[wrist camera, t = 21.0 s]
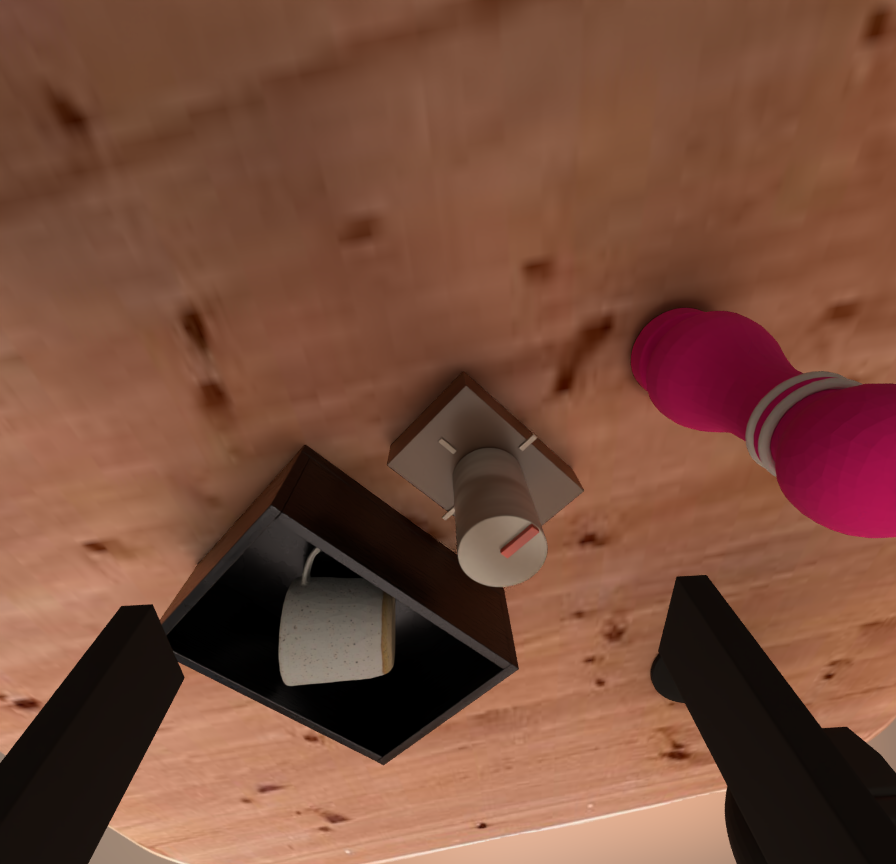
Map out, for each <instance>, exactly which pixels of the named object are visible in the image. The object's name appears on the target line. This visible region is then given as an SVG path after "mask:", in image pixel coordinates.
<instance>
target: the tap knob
mask: <svg viewBox="0 0 896 864" xmlns="http://www.w3.org/2000/svg"><path fill="white" fill-rule="evenodd" d="M453 494H454V509H455V524H456V539H457V554H458V560H459V564H460V566H461V568H462V569H463V571H464V572H465V573H466V574H467V575H468V576H469V577H470V578H471V579H473V580H474V581H476V582H478V583H480V584H483V585H487V586H492V587H507V586H513V585H516V584H519V583H522V582H524V581H526V580H528V579H529V578H531V577H532V576H533V575H535V574H536V573H537V572H538V571H539V569H540V568H541V567H542V565H543V564H544V561H545V559H546V556H547V550H548V548H547V540H546V538H545V535H544V532H543V529H542V526H541V523H540V520H539V517H538V514H537V512H536V509H535V506H534V503H533V500H532V497H531V494H530V491H529V488H528V486H527V483H526V480H525V477H524V474H523V471H522V468H521V466H520V464H519V462H518V461H517V460H516V458H515V457H514V456H512V455H511V454H510V453H508V452H506V451H504V450H501V449H497V448H482V449H478V450H475V451H473V452H471V453H469V454H467V455H466V456H465V457H463V458H462V459H461V460H460V462H459V463H458V464H457V466H456V468H455V470H454V473H453Z"/></svg>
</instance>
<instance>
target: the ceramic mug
mask: <svg viewBox="0 0 896 864" xmlns="http://www.w3.org/2000/svg"><path fill="white" fill-rule="evenodd" d="M320 551H321V550H320V549H318V548H317V547H314V549H313V550H312V551H311V553H310V555H309V556H308V558H307V561H306V563H305V566H304V570H303V574H302V577H297V578H295V579H294V580H293V581H292V583H291V585H290V587H289V589H288V591H287V593H286V597H285V601H284V604H283V609H282V616H281V624H280V631H279V666H280V673H281V676H282V679H283V682H284V683H285V684H286V685H287V686H295V685H306V684H317V683H329V682H337V681H348V680H361V679H370V678H374V677H378V676H381V675H384V674H387V673H389V671H390V670H391V669H392V668H393V666H394V657H395V598H394V597H392V596H390V595H389V594H387V593H386V592H384V591H383V590H381V589H380V588H378V587H377V586H375V585H374V584H372V583H371V582H369V581H367V580H366V579H364V578H334V577H310V572H311V567H312V563H313V560H314V558H315V556H316V555H317V554H318V553H319V552H320Z"/></svg>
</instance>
